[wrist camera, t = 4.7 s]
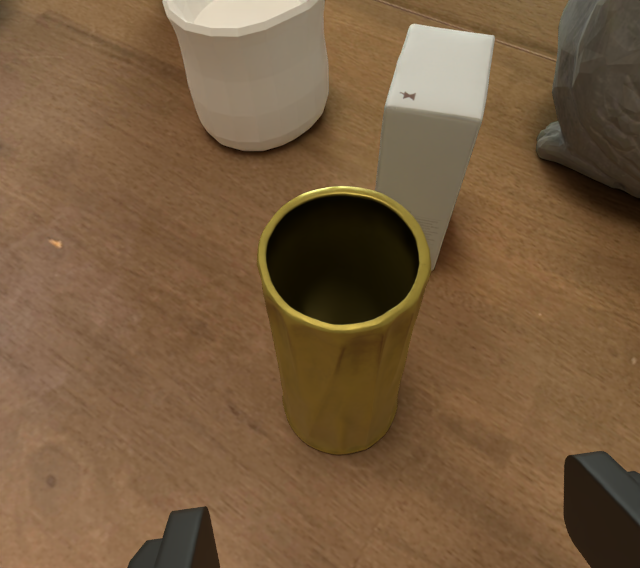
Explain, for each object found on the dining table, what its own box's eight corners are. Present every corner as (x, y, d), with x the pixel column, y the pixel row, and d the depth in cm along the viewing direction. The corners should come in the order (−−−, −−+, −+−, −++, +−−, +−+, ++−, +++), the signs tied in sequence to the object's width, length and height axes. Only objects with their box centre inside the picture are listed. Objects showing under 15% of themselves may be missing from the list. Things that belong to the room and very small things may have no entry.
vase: (324, 480, 25) (312, 390, 13) (262, 381, 28) (204, 229, 16) (419, 412, 27) (491, 274, 15) (352, 325, 30) (365, 145, 17)
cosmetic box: (434, 274, 31) (483, 123, 21) (366, 259, 32) (380, 106, 21) (449, 198, 34) (498, 32, 24) (386, 186, 35) (407, 19, 24)
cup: (344, 80, 40) (346, -53, 32) (300, 172, 36) (289, 46, 27) (233, 57, 42) (207, -74, 33) (178, 142, 37) (132, 15, 29)
